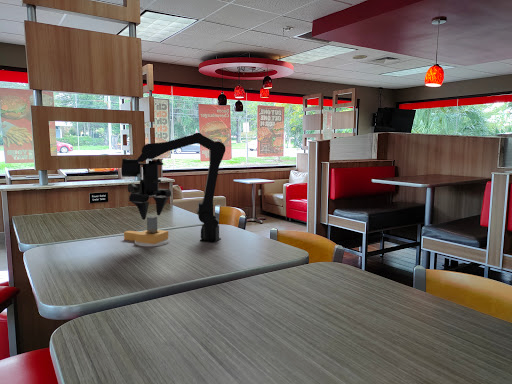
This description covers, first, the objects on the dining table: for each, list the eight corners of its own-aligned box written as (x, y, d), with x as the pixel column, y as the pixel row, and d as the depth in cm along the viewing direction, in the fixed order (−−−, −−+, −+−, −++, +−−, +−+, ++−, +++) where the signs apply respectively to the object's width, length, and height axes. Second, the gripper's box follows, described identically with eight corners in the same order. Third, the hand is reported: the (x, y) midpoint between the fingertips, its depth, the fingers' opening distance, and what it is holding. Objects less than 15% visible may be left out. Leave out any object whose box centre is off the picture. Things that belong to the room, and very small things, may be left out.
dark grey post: (157, 239, 145) (157, 217, 144) (153, 241, 143) (153, 218, 142) (151, 238, 146) (150, 216, 145) (147, 240, 144) (146, 217, 143)
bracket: (176, 239, 149) (175, 230, 148) (156, 248, 137) (156, 238, 136) (137, 235, 155) (137, 226, 155) (115, 242, 143) (114, 232, 143)
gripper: (148, 174, 153) (149, 211, 155) (116, 177, 136) (117, 219, 138) (171, 175, 149) (172, 213, 151) (141, 179, 132) (142, 222, 134)
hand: (151, 217), depth 144 cm, fingers open, 9 cm apart
